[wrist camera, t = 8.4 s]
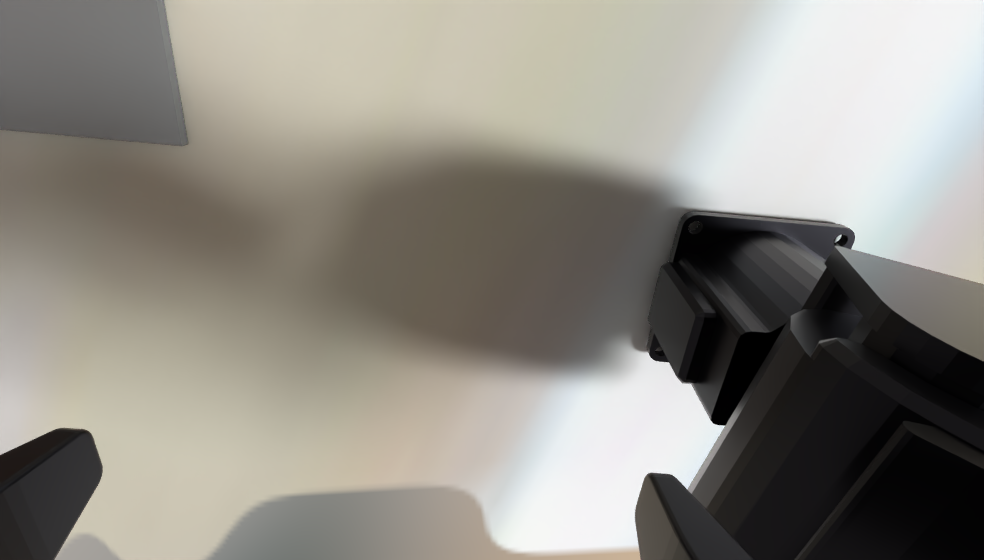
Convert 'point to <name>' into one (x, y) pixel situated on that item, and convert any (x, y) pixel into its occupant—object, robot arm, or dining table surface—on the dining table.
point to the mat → (89, 70)
